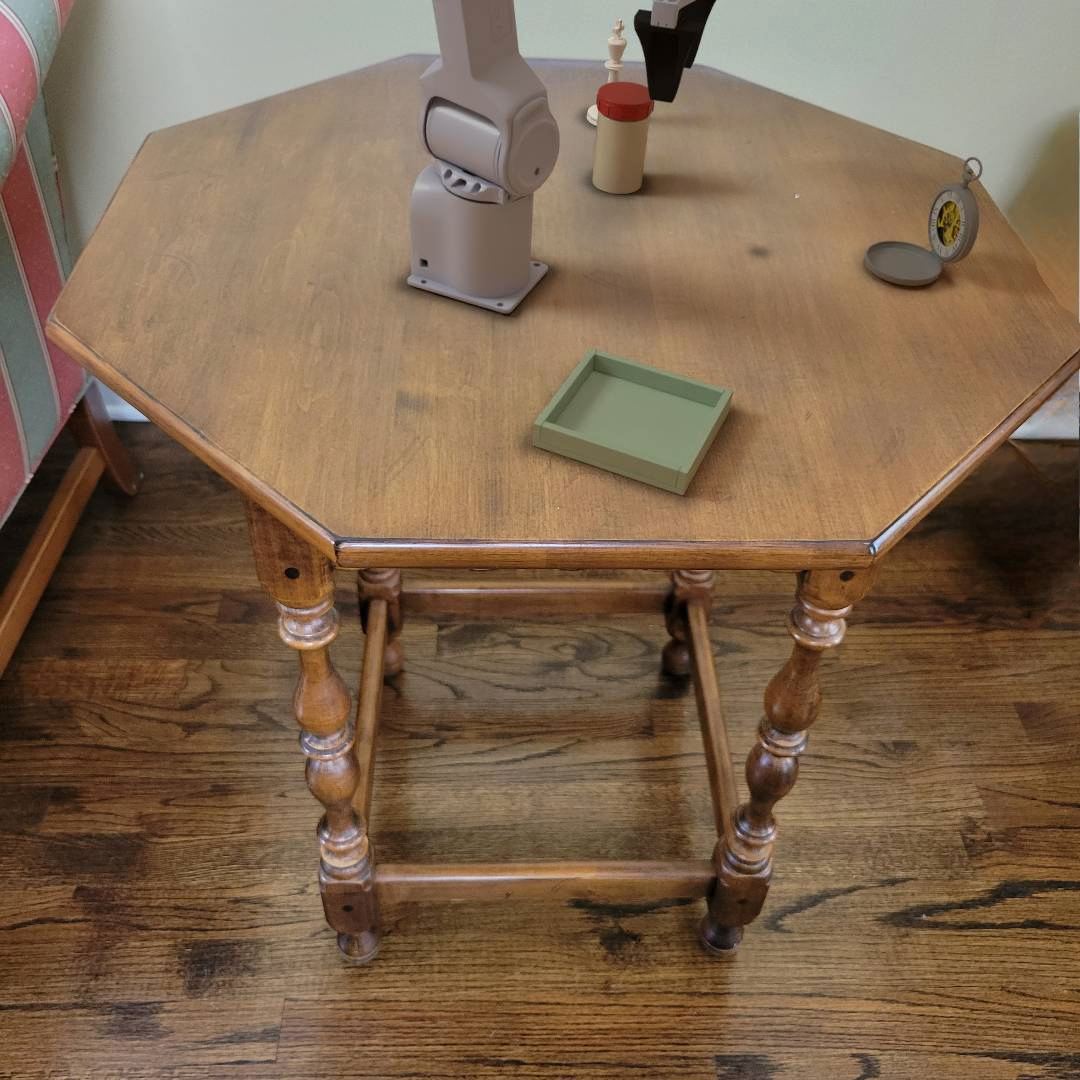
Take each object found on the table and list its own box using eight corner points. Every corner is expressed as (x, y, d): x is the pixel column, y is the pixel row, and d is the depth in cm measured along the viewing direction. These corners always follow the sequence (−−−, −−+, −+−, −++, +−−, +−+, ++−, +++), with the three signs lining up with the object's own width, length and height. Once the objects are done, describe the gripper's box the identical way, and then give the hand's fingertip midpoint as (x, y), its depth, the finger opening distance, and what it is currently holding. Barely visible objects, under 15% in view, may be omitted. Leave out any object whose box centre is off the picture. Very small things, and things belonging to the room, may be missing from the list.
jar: (584, 186, 102) (591, 101, 96) (603, 166, 105) (611, 83, 100) (630, 199, 101) (640, 113, 95) (648, 178, 104) (659, 94, 98)
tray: (531, 445, 75) (533, 422, 73) (588, 369, 81) (590, 347, 80) (683, 496, 72) (687, 473, 70) (728, 412, 78) (733, 390, 77)
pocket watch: (847, 267, 94) (878, 158, 87) (898, 236, 98) (932, 130, 91) (928, 306, 90) (968, 195, 83) (978, 272, 94) (1020, 164, 87)
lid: (588, 112, 97) (589, 96, 96) (609, 92, 100) (610, 77, 99) (640, 125, 96) (642, 109, 95) (660, 104, 99) (662, 89, 98)
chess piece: (641, 117, 114) (652, 19, 107) (618, 133, 111) (629, 33, 104) (601, 105, 116) (609, 7, 109) (577, 120, 113) (585, 21, 106)
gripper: (723, -52, 80) (698, 123, 90) (755, -106, 90) (730, 58, 100) (632, -64, 82) (618, 110, 91) (673, -116, 91) (656, 46, 101)
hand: (671, 82), depth 96 cm, fingers open, 7 cm apart
